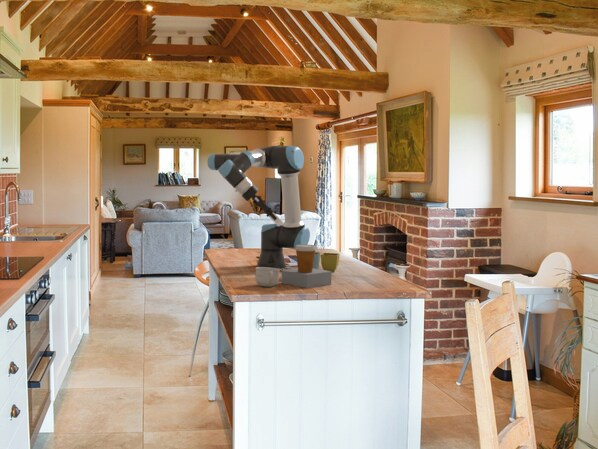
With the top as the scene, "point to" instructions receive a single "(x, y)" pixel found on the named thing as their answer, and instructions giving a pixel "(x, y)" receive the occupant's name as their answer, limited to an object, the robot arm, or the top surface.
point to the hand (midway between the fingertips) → (279, 223)
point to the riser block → (306, 278)
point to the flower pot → (329, 261)
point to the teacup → (267, 276)
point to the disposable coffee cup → (305, 257)
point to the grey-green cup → (316, 260)
